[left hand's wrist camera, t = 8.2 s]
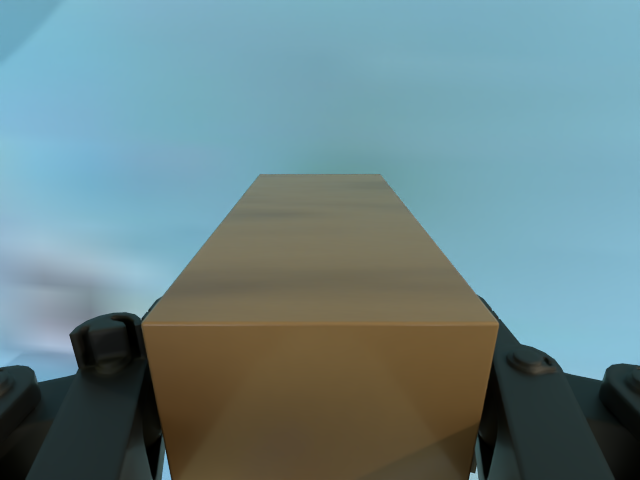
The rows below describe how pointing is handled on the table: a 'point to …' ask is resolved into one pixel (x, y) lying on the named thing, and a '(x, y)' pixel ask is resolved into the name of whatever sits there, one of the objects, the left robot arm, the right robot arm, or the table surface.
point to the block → (320, 342)
